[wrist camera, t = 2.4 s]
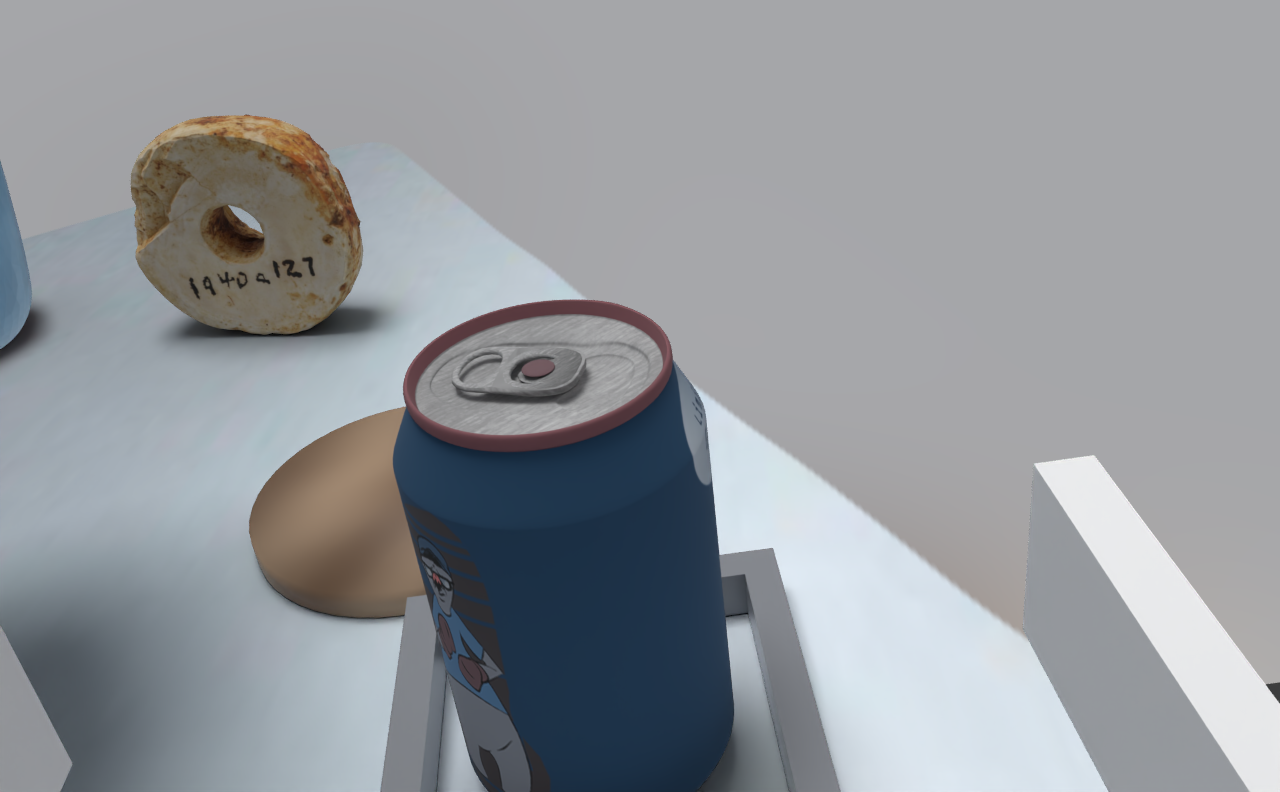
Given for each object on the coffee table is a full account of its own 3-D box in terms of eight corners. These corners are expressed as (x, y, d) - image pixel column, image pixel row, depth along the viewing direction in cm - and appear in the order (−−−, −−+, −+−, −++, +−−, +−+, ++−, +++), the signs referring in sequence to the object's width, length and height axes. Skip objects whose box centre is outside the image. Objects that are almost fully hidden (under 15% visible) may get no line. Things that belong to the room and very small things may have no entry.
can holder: (376, 972, 26) (360, 932, 26) (417, 634, 36) (406, 597, 35) (861, 906, 26) (860, 863, 26) (775, 585, 36) (772, 547, 35)
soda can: (756, 668, 33) (727, 288, 27) (709, 883, 27) (658, 464, 21) (525, 646, 35) (446, 284, 29) (436, 842, 29) (314, 446, 23)
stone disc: (395, 302, 56) (344, 96, 51) (365, 340, 53) (308, 126, 48) (199, 303, 58) (131, 107, 53) (159, 341, 55) (83, 136, 50)
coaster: (198, 609, 38) (188, 586, 37) (333, 421, 47) (327, 400, 46) (524, 625, 36) (519, 600, 35) (600, 424, 45) (597, 402, 44)
